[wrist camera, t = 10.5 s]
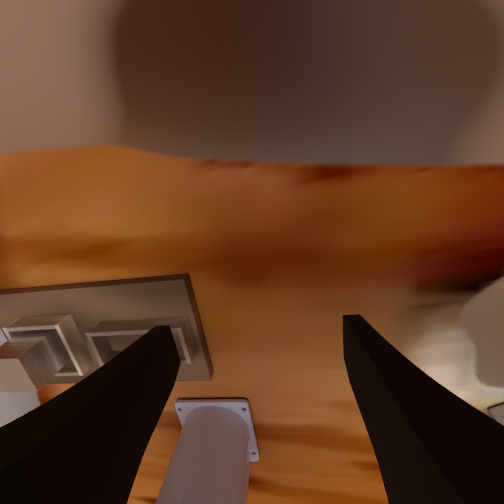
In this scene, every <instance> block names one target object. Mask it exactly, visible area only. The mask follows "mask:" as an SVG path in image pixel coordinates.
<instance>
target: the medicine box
mask: <svg viewBox="0 0 504 504" xmlns="http://www.w3.org/2000/svg"><path fill="white" fill-rule="evenodd" d="M489 412H490V413H491V415H492V417H493V418H494V420H495V421H497V422H499V423H500V424H502V425H503V426H504V404H501V405H499V406H496V407H492V408H489Z"/></svg>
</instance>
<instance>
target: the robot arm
mask: <svg viewBox="0 0 504 504" xmlns="http://www.w3.org/2000/svg"><path fill="white" fill-rule="evenodd" d="M343 347H344V360H345V364H346V369H347V373H348V377H349V381H350V384H351V387H352V390H353V393H354V395H355V398H356V401H357V404H358V407H359V409H360V412H361V415H362V418H363V420H364V423H365V426H366V429H367V432H368V434H369V437H370V440H371V443H372V445H373V448H374V452H375V455H376V458H377V461H378V464H379V468H380V472H381V475H382V479H383V483H384V487H385V490H386V494H387V498H388V501H389V504H504V426H503V425H502V424H500V423H499V422H497V421H495V420H494V419H492V418H491V417H489V416H487V415H486V414H484V413H482V412H481V411H479V410H478V409H476V408H474V407H473V406H471V405H470V404H468V403H467V402H465V401H464V400H462V399H461V398H459V397H458V396H456V395H455V394H453V393H452V392H450V391H449V390H448V389H446V388H445V387H443V386H442V385H441V384H439V383H438V382H436V381H435V380H434V379H432V378H431V377H429V376H428V375H427V374H426V373H424V372H423V371H422V370H421V369H419V368H418V367H417V366H416V365H414V364H413V363H412V362H411V361H409V360H408V359H407V358H406V357H405V356H403V355H402V354H401V353H400V352H399V351H398V350H397V349H396V348H394V347H393V346H392V345H391V344H390V343H389V342H388V341H387V340H386V339H384V338H383V337H382V336H381V335H380V334H379V333H378V332H377V331H376V330H375V329H374V328H373V327H372V326H371V325H370V324H369V323H368V322H367V321H366V320H365V319H364V318H363V317H362V316H361V315H359V314H358V315H343ZM180 364H181V360H180V357H179V354H178V350H177V347H176V344H175V341H174V338H173V334H172V331H171V328H170V325H162V326H155V327H154V328H152V329H151V330H149V331H148V332H147V333H145V334H144V335H143V336H141V337H140V338H139V339H137V340H136V341H135V342H133V343H132V344H131V345H129V346H128V347H127V348H126V349H124V350H123V351H122V352H120V353H119V354H118V355H116V356H115V357H114V358H112V359H111V360H110V361H108V362H107V363H105V364H104V365H103V366H101V367H100V368H98V369H97V370H96V371H94V372H93V373H91V374H90V375H89V376H87V377H86V378H84V379H83V380H81V381H80V382H78V383H77V384H75V385H74V386H72V387H71V388H69V389H67V390H66V391H64V392H63V393H61V394H59V395H58V396H56V397H55V398H53V399H51V400H50V401H48V402H46V403H44V404H43V405H41V406H39V407H37V408H35V409H34V410H32V411H30V412H28V413H27V414H25V415H23V416H21V417H19V418H17V419H16V420H14V421H12V422H10V423H8V424H6V425H4V426H2V427H0V504H127V501H128V498H129V495H130V492H131V489H132V486H133V483H134V480H135V477H136V474H137V472H138V469H139V466H140V463H141V460H142V457H143V455H144V452H145V450H146V447H147V445H148V443H149V440H150V438H151V436H152V434H153V431H154V429H155V427H156V425H157V423H158V420H159V418H160V416H161V414H162V412H163V409H164V407H165V405H166V403H167V400H168V398H169V396H170V394H171V391H172V389H173V387H174V384H175V381H176V378H177V375H178V371H179V368H180ZM174 405H175V409H176V411H177V414H178V417H179V420H180V423H181V426H182V430H181V433H180V436H179V438H178V441H177V444H176V447H175V450H174V452H173V455H172V458H171V461H170V464H169V467H168V469H167V472H166V475H165V478H164V481H163V483H162V486H161V489H160V492H159V495H158V497H157V500H156V503H155V504H246V503H247V493H248V483H249V473H250V463H251V462H257V461H259V457H260V456H259V451H258V446H257V441H256V436H255V431H254V427H253V422H252V417H251V412H250V407H249V403H248V401H247V400H245V399H213V400H177V401H176V402H175V404H174Z"/></svg>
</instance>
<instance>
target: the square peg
mask: <svg viewBox="0 0 504 504" xmlns="http://www.w3.org/2000/svg"><path fill="white" fill-rule="evenodd" d="M70 359H71V357H70V355H69V353H68V351H67V349H66V347H65V346H64V344H63V342H62V340H61V338H60V336H59V334H58V332H57V330H56V329H45V330H28V331H21V332H20V333H18V334H17V335H16V336H14V337H13V338H11V339H10V340H8V341H7V342H6V343H4V344H3V345H1V346H0V390H1V391H2V392H38V391H39V390H40V389H41V388H42V387H43V386H44V385H45V384H46V383H47V382H48V381H49V380H50V379H51V378H52V377H53V376H54V375H55V374H56V373H57V372H58V371H59V370H60V369H61V368H62V367H63V366H64V365H65V364H66V363H67V362H68V361H69V360H70Z"/></svg>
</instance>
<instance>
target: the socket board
mask: <svg viewBox="0 0 504 504" xmlns="http://www.w3.org/2000/svg"><path fill="white" fill-rule="evenodd" d="M162 325H170V328H171V331H172V334H173V338H174V341H175V344H176V347H177V350H178V354H179V357H180V360H181V364H180V368H179V371H178V375H177V378H176V381H206V380H211V379H212V375H213V368H212V364H211V361H210V357H209V353H208V349H207V345H206V341H205V337H204V334H203V330H202V326H201V322H200V318H199V314H198V310H197V307H196V303H195V299H194V295H193V291H192V287H191V283H190V280H189V276H188V274H181V275H169V276H158V277H147V278H135V279H124V280H112V281H101V282H89V283H78V284H66V285H55V286H43V287H32V288H21V289H9V290H0V328H1V330H2V332H3V334H4V335H5V337H6V338H7V340H10V339H11V338H13V337H14V336H16V335H17V334H18V333H20V332H21V331H28V330H45V329H56V330H57V332H58V334H59V336H60V338H61V340H62V342H63V344H64V346H65V347H66V349H67V351H68V353H69V355H70V357H71V359H70V360H69V361H68V362H67V363H66V364H65V365H64V366H63V367H62V368H61V369H60V370H59V371H58V372H57V373H56V374H55V375H54V376H53V377H52V378H51V379H50V380H49V381H48V382H47V383H46V384H62V383H78V382H80V381H81V380H83V379H84V378H86V377H87V376H89V375H90V374H91V373H93V372H94V371H96V370H97V369H98V368H100V367H101V366H103V365H104V364H105V363H107V362H108V361H110V360H111V359H112V358H114V357H115V356H116V355H118V354H119V353H120V352H122V351H123V350H124V349H126V348H127V347H128V346H129V345H131V344H132V343H133V342H135V341H136V340H137V339H139V338H140V337H141V336H143V335H144V334H145V333H147V332H148V331H149V330H151V329H152V328H154V327H155V326H162Z"/></svg>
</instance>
